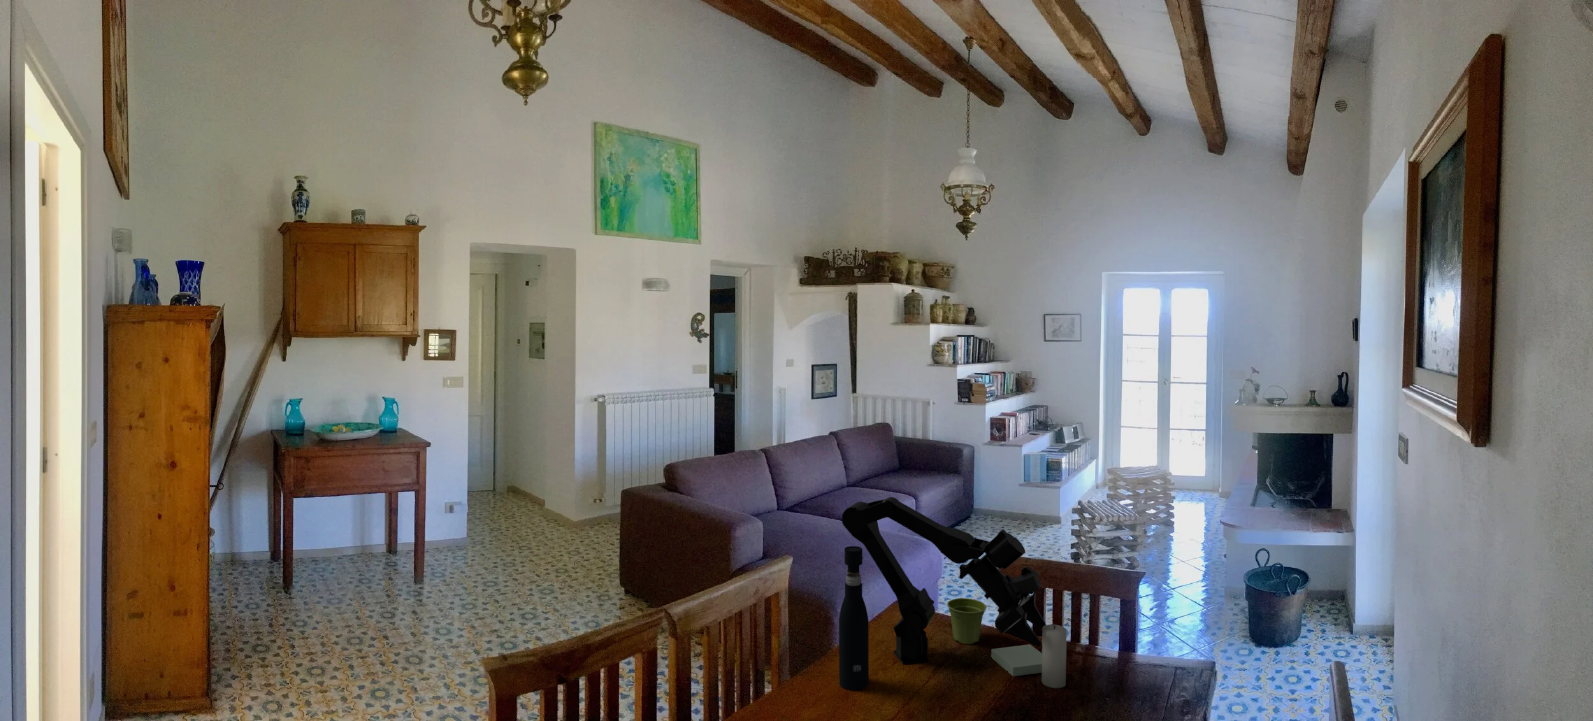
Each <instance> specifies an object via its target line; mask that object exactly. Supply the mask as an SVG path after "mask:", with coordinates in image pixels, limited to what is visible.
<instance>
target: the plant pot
mask: <svg viewBox="0 0 1593 721" xmlns="http://www.w3.org/2000/svg"><path fill="white" fill-rule="evenodd" d="M946 606H947V607H948V610H949V611H948V612H949V613H950V618H951V629H952V637H953V639H954V641H956V642H959V643H960V644H965V645H966V644H967V645H972V644H974V643H976V642H977V643H978V642H979V641H980V634H981V627H982V621H983V616H984V614H985V611H987V605H986V604H985V603H984V602H982V601H980V600H977V599H973V598H970V597H969V598H967V597H966V598H965V597H959V598H958V597H957V598H953V599H950V600H948V601H947V604H946Z"/></svg>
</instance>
